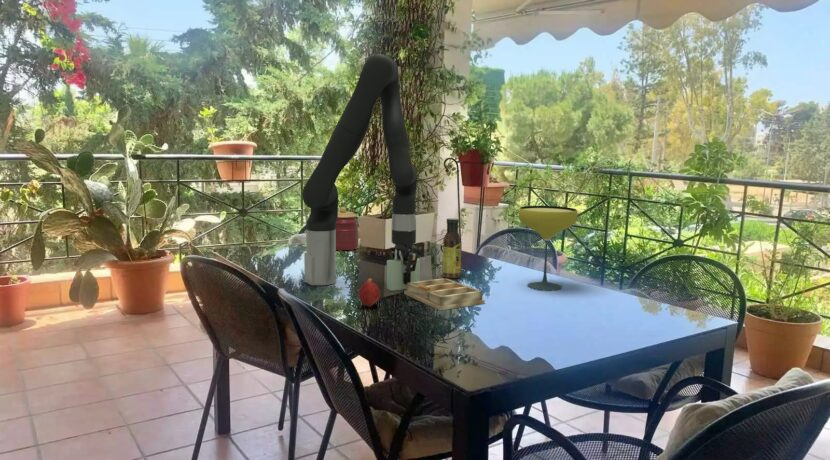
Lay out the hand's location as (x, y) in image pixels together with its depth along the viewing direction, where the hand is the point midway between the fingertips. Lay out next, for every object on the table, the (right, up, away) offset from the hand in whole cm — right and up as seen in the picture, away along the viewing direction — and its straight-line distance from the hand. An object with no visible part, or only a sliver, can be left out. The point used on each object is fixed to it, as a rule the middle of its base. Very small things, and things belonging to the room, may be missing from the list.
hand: (403, 282), depth 192 cm
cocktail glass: (+45, -2, +4) cm, 45 cm away
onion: (-9, -5, -22) cm, 24 cm away
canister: (-27, +8, +67) cm, 73 cm away
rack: (+12, -4, -12) cm, 18 cm away
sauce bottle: (+16, 0, +16) cm, 23 cm away
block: (0, -2, 0) cm, 2 cm away
